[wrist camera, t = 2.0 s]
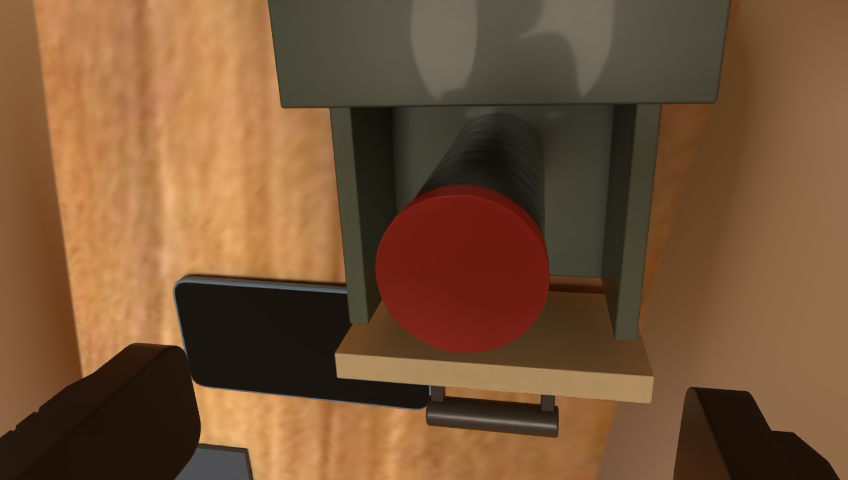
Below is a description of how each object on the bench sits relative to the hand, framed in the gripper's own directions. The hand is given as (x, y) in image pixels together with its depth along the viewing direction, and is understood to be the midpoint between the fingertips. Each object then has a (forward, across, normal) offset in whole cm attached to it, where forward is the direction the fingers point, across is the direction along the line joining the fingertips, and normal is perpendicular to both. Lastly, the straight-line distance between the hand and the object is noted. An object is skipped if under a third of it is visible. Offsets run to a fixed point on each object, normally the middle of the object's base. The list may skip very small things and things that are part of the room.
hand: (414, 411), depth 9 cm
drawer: (+19, 0, +4) cm, 19 cm away
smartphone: (+20, +11, +11) cm, 25 cm away
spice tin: (+18, 0, 0) cm, 18 cm away
